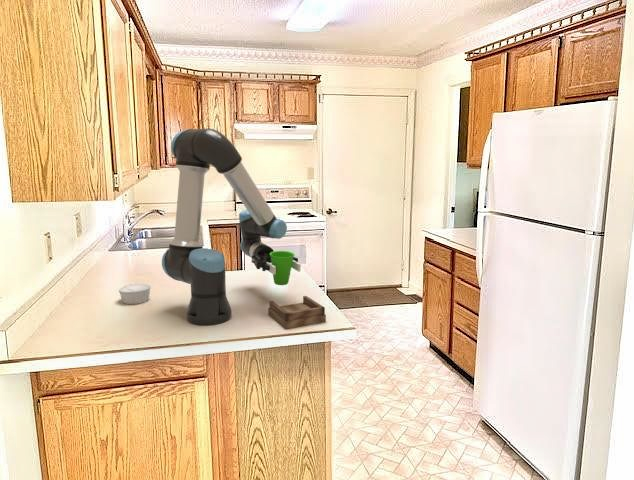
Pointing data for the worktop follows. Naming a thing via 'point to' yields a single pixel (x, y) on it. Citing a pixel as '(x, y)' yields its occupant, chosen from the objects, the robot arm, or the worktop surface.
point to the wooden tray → (297, 313)
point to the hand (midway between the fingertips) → (287, 269)
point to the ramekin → (135, 293)
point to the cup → (282, 266)
